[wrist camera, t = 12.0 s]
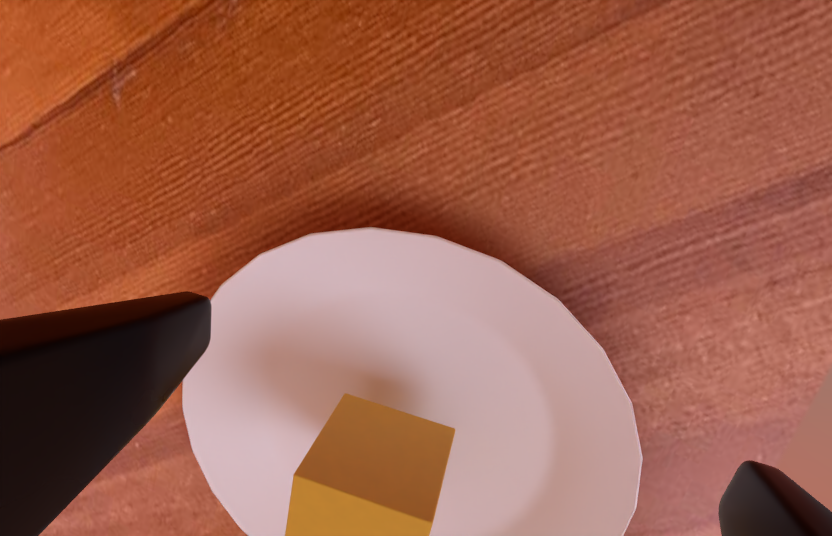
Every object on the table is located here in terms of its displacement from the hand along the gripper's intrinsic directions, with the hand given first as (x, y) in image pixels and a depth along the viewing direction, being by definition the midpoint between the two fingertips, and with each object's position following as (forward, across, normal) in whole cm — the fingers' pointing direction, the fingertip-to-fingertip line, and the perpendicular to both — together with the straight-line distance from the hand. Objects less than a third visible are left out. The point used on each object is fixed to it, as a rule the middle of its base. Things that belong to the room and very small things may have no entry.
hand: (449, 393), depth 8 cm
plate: (+13, +2, +11) cm, 17 cm away
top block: (+10, +2, +11) cm, 16 cm away
